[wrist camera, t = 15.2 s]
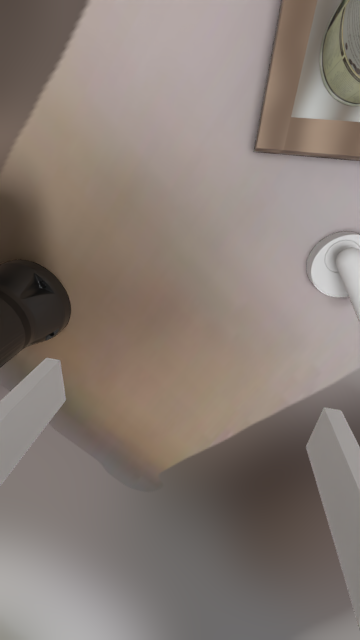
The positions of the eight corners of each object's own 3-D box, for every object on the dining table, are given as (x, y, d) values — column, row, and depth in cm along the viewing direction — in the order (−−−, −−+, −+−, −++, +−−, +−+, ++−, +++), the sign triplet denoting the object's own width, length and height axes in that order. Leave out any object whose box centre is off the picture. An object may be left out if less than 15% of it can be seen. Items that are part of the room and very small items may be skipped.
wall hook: (340, 338, 33) (318, 265, 30) (317, 307, 41) (298, 248, 38) (422, 314, 30) (408, 230, 27) (380, 286, 39) (365, 219, 35)
